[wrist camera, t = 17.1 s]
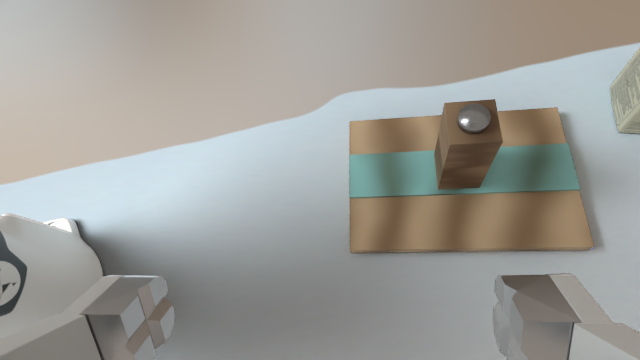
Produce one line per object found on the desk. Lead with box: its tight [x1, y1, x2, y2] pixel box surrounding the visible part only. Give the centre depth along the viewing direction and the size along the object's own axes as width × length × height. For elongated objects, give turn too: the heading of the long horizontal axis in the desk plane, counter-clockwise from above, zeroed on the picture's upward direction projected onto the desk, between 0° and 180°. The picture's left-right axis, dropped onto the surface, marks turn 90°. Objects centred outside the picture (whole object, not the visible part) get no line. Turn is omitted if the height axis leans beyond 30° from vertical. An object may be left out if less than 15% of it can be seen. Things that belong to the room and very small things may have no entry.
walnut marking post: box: [434, 99, 503, 189], centre depth 35 cm, size 4×4×10 cm
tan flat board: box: [349, 108, 594, 253], centre depth 40 cm, size 22×15×2 cm
